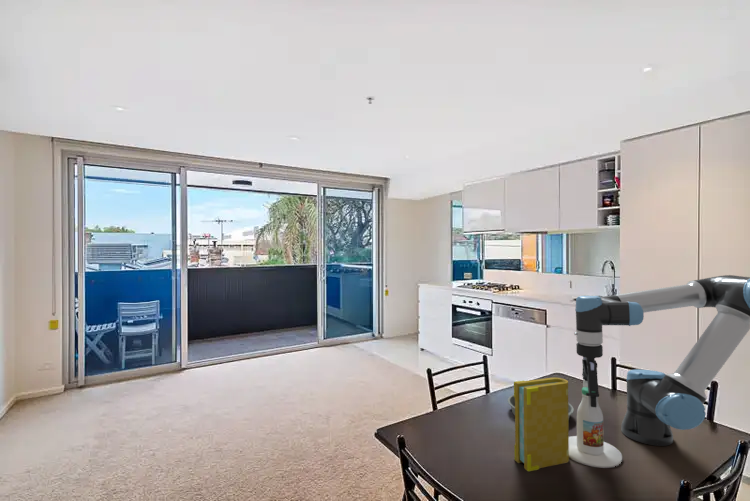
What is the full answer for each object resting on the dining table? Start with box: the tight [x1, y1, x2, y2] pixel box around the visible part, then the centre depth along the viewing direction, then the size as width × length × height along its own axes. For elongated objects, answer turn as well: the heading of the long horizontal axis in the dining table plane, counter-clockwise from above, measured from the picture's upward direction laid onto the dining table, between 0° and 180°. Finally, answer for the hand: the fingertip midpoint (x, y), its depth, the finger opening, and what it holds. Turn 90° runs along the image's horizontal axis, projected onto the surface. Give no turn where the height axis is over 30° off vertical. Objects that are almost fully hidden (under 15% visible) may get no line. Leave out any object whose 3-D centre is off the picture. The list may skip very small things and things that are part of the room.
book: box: [513, 377, 570, 472], centre depth 124 cm, size 17×7×25 cm, turn 106°
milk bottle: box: [576, 386, 605, 455], centre depth 128 cm, size 8×8×20 cm
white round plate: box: [569, 435, 623, 469], centre depth 128 cm, size 18×18×1 cm
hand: (590, 407), depth 128 cm, fingers open, 13 cm apart
